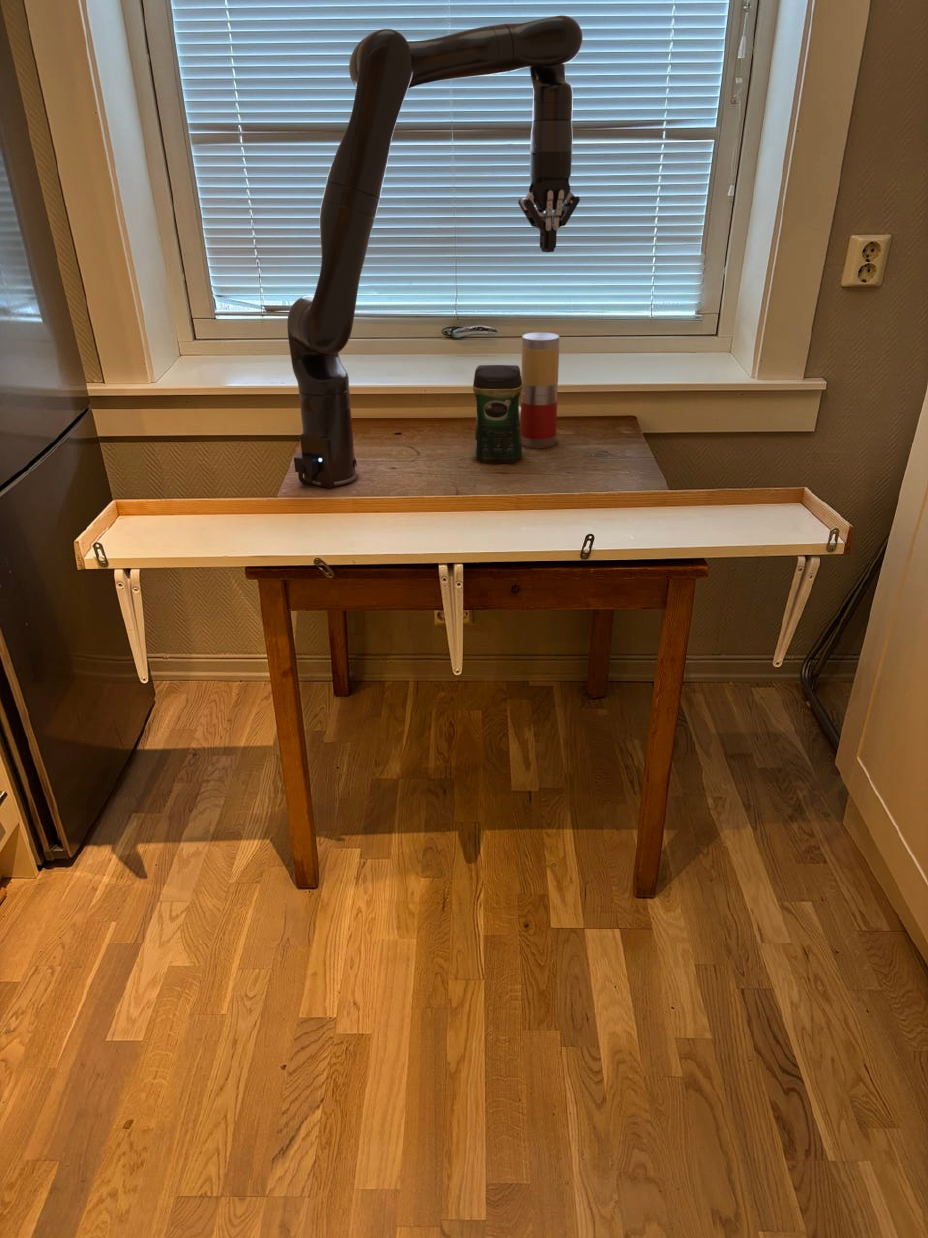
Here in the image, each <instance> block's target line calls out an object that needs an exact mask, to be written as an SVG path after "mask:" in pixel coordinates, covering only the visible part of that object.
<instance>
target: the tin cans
mask: <svg viewBox="0 0 928 1238" xmlns="http://www.w3.org/2000/svg"><path fill="white" fill-rule="evenodd" d="M559 363H560V335H559V334H557V333H553V332H544V331H543V332H542V331H541V332H539V331H538V332H529V333H528V332H527V333H525V334H523V335H521V364H520V365H521V368H520V373H521V379H522V390H521V393H520V407H521V419H520V422H519V423H520V433H521V443H522V447H526V448H531V449H546V448H550V447H553V446H555V445H556V440H557V422H558V420H557V419H558V388H559V387H558V383H559V366H560V364H559Z"/></svg>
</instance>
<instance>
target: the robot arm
mask: <svg viewBox="0 0 928 1238" xmlns="http://www.w3.org/2000/svg"><path fill="white" fill-rule="evenodd" d="M582 45H583V31H582V28H581V27H580V25H579V23H578V22H577V21H576V20H575V19H574V18H572V17H570V16H568V15H554V16H550V17H545V18H544V17H543V18H540V19H536V20H531V21H526V22H516V23H514V22H513V23H500V24H493V25H486V26H481V27H476V28H471V29H467V30H462V31H458V32H455V33H451V34H447V35H443V36H439V37H434V38H429V39H423V40H413V41H412V40H410V41H408V40H407V39H406V37H405V36H404V35H403V34H402V33H401V32H399V31H397V30H396V29H391V28H381V29H378V30H375V31H373V32H371V33H369V34H368V35H367V36H365V37H364V38H363V39H361V40H360V41H359V42H358V43H357V45H355V47H354V49H353V50H352V53H351V55H350V58H349V65H348V70H349V76H350V80H351V81H352V84H353V86H354V87H355V92H354V93H355V94H354V100H353V106H352V110H351V115H350V117H349V121H348V124H347V125H346V128H345V131H344V133H343V136H342V138H341V140H340V143H339V145H338V148H337V150H336V152H335V154H334V157H333V160H332V162H331V165H330V167H329V171H328V174H327V178H326V181H325V186H324V191H323V196H322V200H321V204H320V212H319V237H320V248H321V250H320V251H321V264H320V271H319V276H318V280H317V284H316V288H315V292H314V294H313V295H304V296H302V297H300V298H298V299H297V300H296V301H294V303H293V304H292V305H291V306H290V309H289V311H288V313H287V323H286V325H287V329H286V330H287V340H288V345H289V347H288V348H289V353H290V359H291V361H290V362H291V366H292V371H293V374H294V377H295V379H296V382H297V388H298V395H299V397H298V398H299V408H300V416H301V427H302V433H300V435H299V440H300V449H301V453H299V454H298V455H296V456H294V457H293V464H294V473H297V475H298V476H297V477H298V480H299V482H300V483H301V484H302V486H305V487H306V486H307V485H313V486H317V487H322V488H326V489H327V488H328V489H331V488H334V487H338V486H344V485H347V484H350V483H352V482H354V481H355V480H356V479H357V471H356V469H357V468H358V465H357V459H356V457H355V446H354V432H353V419H352V417H353V416H352V404H351V393H350V392H351V391H350V378H349V373H348V372H347V370H346V369H345V367H344V365H343V363H342V361H341V358H340V354H339V353H340V352H342V351H343V349H344V348H345V347H346V345H347V344H348V342H349V340H350V338H351V335H352V331H353V326H354V320H355V312H356V305H357V298H358V293H359V286H360V280H361V276H362V272H363V268H364V267H363V266H364V264H365V259H366V255H367V251H368V246H369V242H370V239H371V234H372V230H373V227H374V223H375V220H376V215H377V212H378V208H379V204H380V199H381V196H382V190H383V185H384V182H385V181H384V180H385V175H386V171H387V166H388V162H389V156H390V150H391V145H392V139H393V136H394V131H395V128H396V125H397V122H398V118H399V116H400V112H401V109H402V106H403V104H404V101H405V98H406V95H407V93H408V90H410V89H411V88H415V87H417V86H418V87H419V86H422V85H426V84H431V83H435V82H441V81H448V80H456V79H457V80H458V79H466V78H467V79H468V78H475V77H476V78H477V77H485V76H492V75H498V74H506V73H512V72H515V71H518V70H522V69H526V68H529V75H530V81H531V86H532V90H533V91H532V92H533V97H532V122H531V129H530V130H531V131H530V150H529V151H530V153H529V178H530V185H529V187H528V193H527V194H526V195H525V196H524V197H523V198H519V199H518V202H517V203H518V206H519V207H520V210H521V211H522V212H523V214H524V216H525V218H526V219H527V221H528V223H529V225H530V227H532V228H537V229H538V231H539V249H540V250H541V252H543V253H553V252H554V251H555V249H556V247H557V237H558V236H557V235H558V233H557V232H558V229H560V228H562V227H565V226H566V225H567V224H568V222H569V220H570V218H571V216H572V215H573V213H574V211H575V210H576V208H577V206H578V205H579V203H580V200H581V199H580V196H577V195H574V194H573V192H571V185H570V178H571V175H572V160H573V159H572V158H573V138H574V137H573V136H574V135H573V134H574V133H573V104H574V91H573V87H572V85H571V84H570V83H569V82H567V79H566V67H565V65H566V64H568V63H569V62H571V61H573V60H574V59H575V58H576V57H577V55H578V54H579V53H580V50H581V48H582Z"/></svg>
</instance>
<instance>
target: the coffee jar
mask: <svg viewBox="0 0 928 1238" xmlns="http://www.w3.org/2000/svg"><path fill="white" fill-rule="evenodd" d="M521 390H522V379H521V368H520V366H519V365H516V364H480V365H478V366H476V368H475V371H474V377H473V384H472V392H473V394H474V397H475V401H476V402H475V403H476V417H475V418H476V419H475V420H476V421H475V432H474V433H475V434H474V445H473V446H474V448H473V453H474V458H475V459H476V460H477V461H478V462H481V463H491V464H492V463H494V464H495V463H496V464H498V463H499V464H501V463H502V464H503V463H513V462H514V463H515V462H516V461H518V460H520V459H521V457H522V454H523V445H522V443H521V433H520V423H521V422H520V421H519V406H520V402H519V401H520V397H521Z"/></svg>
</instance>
